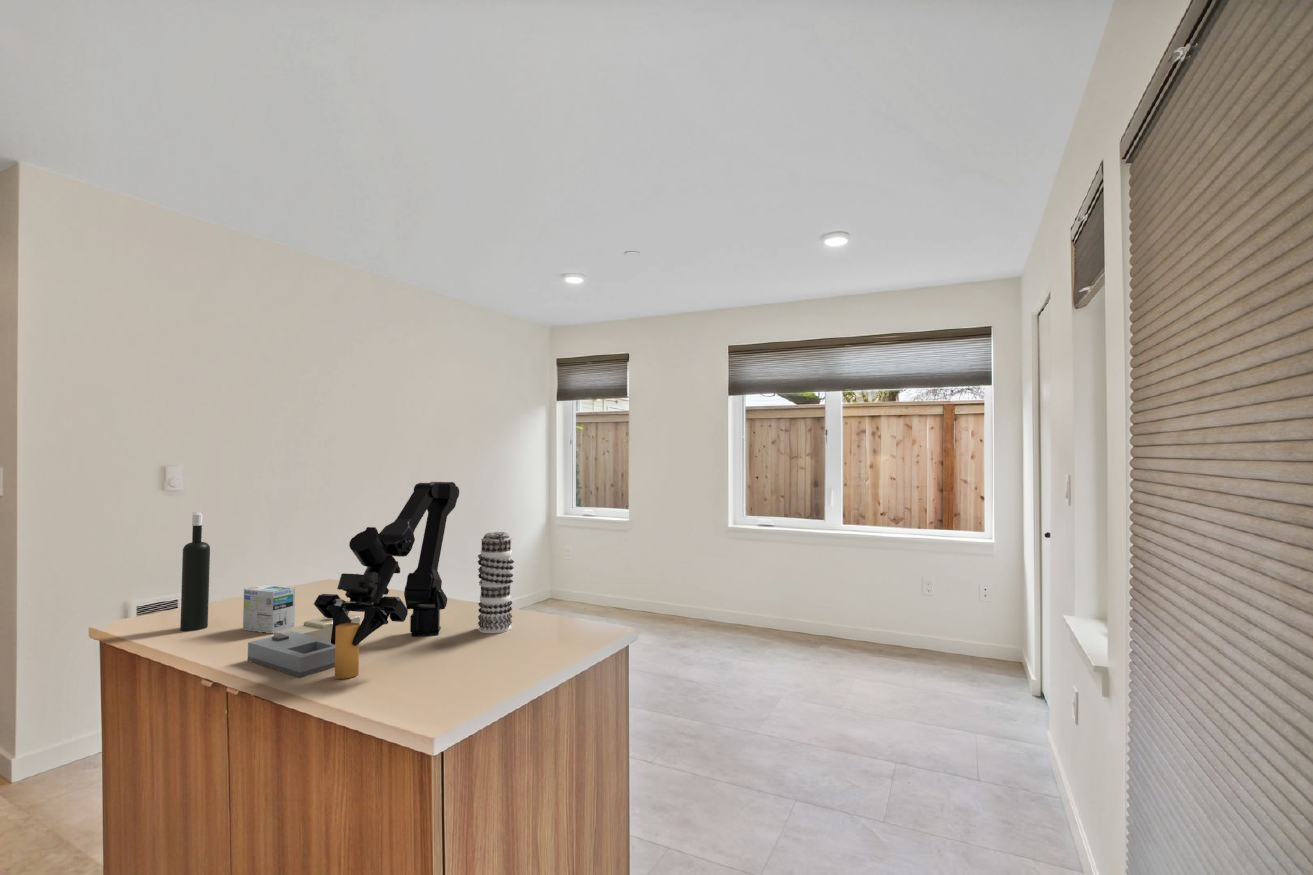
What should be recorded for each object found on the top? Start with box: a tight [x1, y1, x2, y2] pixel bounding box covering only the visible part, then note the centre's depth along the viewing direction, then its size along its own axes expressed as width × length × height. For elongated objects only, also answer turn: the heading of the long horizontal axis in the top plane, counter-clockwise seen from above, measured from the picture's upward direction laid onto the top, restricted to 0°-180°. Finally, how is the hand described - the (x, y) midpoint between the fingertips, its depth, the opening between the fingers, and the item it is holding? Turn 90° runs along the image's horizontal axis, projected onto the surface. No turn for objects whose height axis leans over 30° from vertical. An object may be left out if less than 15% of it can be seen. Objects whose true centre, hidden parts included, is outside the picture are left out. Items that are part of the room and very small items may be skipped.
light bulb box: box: [242, 584, 296, 634], centre depth 163 cm, size 11×7×11 cm, turn 71°
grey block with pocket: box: [247, 632, 335, 678], centre depth 137 cm, size 20×10×5 cm, turn 60°
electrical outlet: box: [273, 613, 361, 641], centre depth 155 cm, size 7×4×18 cm
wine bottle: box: [179, 511, 211, 632], centre depth 164 cm, size 6×6×30 cm
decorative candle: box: [477, 531, 515, 634], centre depth 165 cm, size 9×9×25 cm
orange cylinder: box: [334, 623, 361, 680], centre depth 129 cm, size 4×4×10 cm
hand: (342, 644), depth 127 cm, fingers closed on orange cylinder, 4 cm apart
